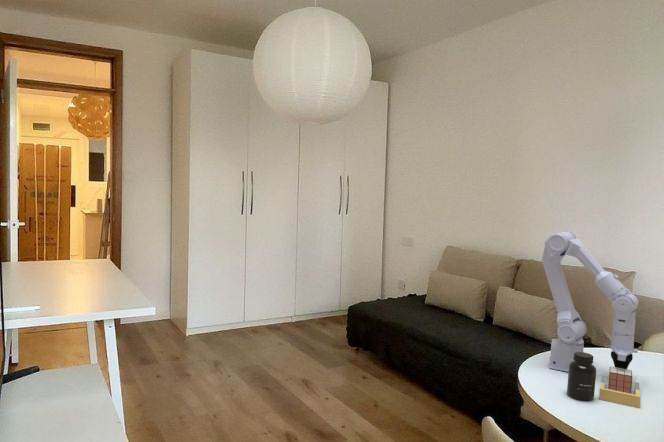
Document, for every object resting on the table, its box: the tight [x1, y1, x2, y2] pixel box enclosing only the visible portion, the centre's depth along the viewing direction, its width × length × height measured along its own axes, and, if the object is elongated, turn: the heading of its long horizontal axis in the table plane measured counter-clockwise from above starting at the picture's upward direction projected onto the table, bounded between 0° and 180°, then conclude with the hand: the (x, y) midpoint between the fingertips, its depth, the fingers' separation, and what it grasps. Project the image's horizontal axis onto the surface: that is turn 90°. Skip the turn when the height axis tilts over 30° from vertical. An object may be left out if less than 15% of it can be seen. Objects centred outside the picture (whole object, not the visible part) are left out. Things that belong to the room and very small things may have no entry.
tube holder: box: [598, 375, 641, 409], centre depth 139 cm, size 10×13×3 cm
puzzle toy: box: [607, 366, 633, 394], centre depth 143 cm, size 6×6×6 cm
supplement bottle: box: [566, 351, 597, 402], centre depth 137 cm, size 7×7×12 cm
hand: (620, 377), depth 149 cm, fingers closed
